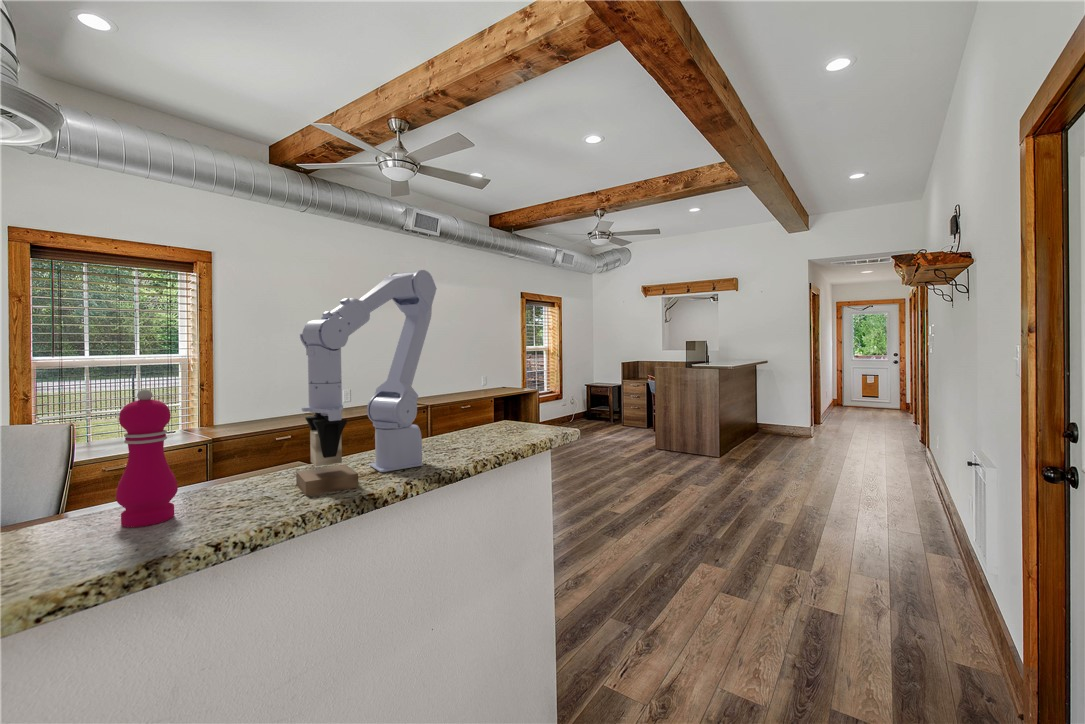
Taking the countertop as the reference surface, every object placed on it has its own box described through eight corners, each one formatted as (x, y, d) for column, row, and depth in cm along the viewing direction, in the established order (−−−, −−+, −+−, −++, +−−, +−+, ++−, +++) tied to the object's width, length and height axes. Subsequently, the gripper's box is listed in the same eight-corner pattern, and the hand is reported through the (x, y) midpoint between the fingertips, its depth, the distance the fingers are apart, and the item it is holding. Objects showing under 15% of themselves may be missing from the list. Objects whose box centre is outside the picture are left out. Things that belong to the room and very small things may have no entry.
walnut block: (345, 478, 96) (345, 464, 96) (358, 489, 89) (358, 473, 89) (296, 486, 91) (296, 471, 91) (305, 498, 84) (305, 481, 84)
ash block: (335, 458, 93) (335, 427, 93) (341, 462, 89) (341, 431, 89) (310, 461, 90) (310, 430, 90) (315, 466, 87) (315, 433, 86)
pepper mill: (146, 511, 76) (142, 387, 75) (190, 512, 76) (186, 387, 75) (102, 529, 69) (98, 391, 68) (151, 529, 69) (147, 391, 68)
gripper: (294, 381, 93) (295, 450, 93) (310, 386, 81) (311, 464, 82) (332, 380, 97) (333, 446, 97) (353, 384, 86) (354, 459, 86)
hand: (326, 454), depth 90 cm, fingers closed on ash block, 4 cm apart
